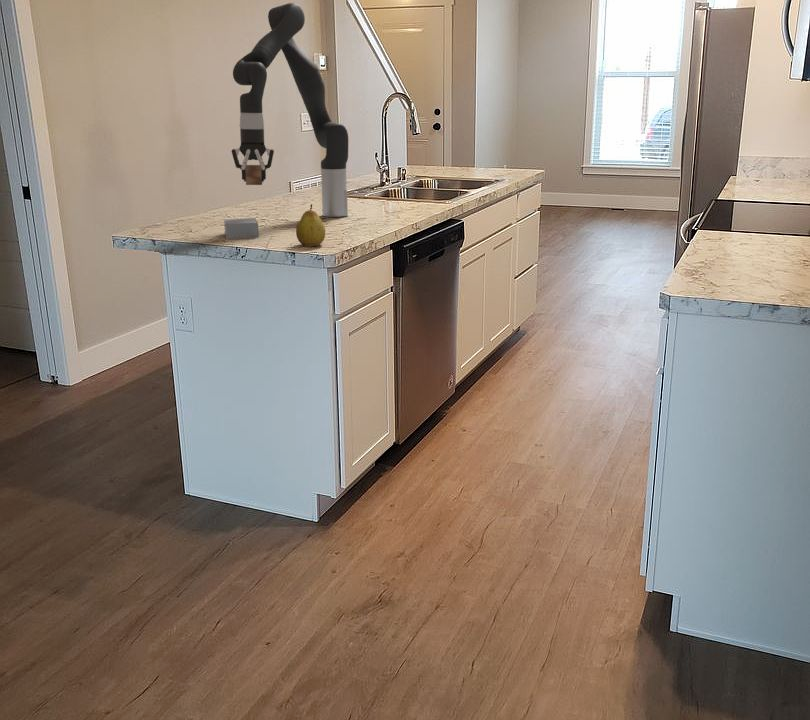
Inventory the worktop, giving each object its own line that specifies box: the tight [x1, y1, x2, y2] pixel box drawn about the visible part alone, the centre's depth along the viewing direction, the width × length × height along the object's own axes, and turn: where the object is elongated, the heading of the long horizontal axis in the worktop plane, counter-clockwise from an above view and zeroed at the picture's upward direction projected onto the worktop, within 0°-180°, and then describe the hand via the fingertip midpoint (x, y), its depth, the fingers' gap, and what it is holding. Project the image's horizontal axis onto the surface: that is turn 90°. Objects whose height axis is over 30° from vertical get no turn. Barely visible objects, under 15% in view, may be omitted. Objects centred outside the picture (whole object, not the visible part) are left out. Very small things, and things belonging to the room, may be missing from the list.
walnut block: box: [245, 164, 263, 186], centre depth 274 cm, size 5×5×6 cm
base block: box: [223, 217, 260, 240], centre depth 270 cm, size 10×10×5 cm
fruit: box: [295, 203, 327, 247], centre depth 252 cm, size 9×9×12 cm
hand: (254, 181), depth 275 cm, fingers closed on walnut block, 5 cm apart
